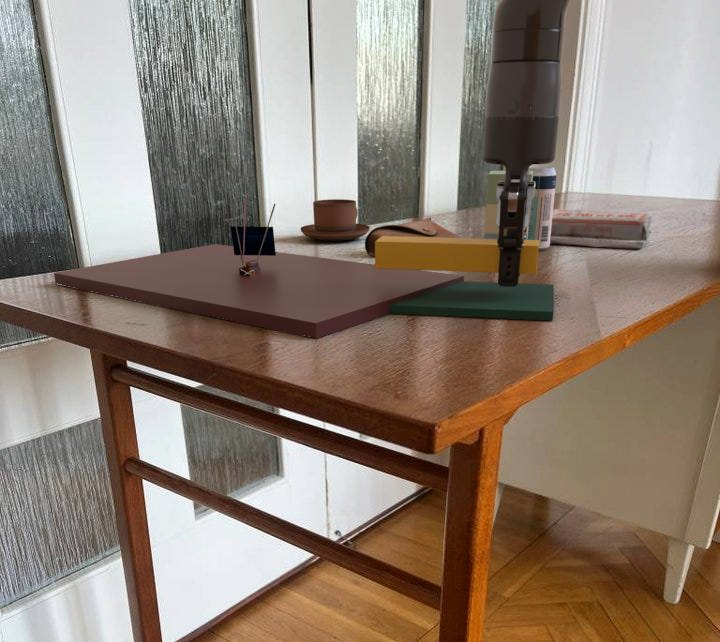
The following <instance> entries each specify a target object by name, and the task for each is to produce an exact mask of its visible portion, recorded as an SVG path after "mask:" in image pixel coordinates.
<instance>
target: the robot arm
mask: <svg viewBox="0 0 720 642" xmlns="http://www.w3.org/2000/svg"><path fill="white" fill-rule="evenodd" d="M570 1H571V0H499V1H498V3H497V5H496V8H495V11H494V15H493V16H494V17H493V23H492V35H491V53H490V63H491V64H490V66H489V67H490V68H489V75H488V80H487V85H486V93H485V94H486V95H485V96H486V97H485V98H486V99H485V113H484V130H483V146H482V147H483V148H482V159H483V162H484V163H487V164H491V165H502V166H504V168H505V171H506V172H505V181H499V183H497V191H496V198H497V200H498V208H497V220H496V224H497V227H498V228H499V239H497V244H498V248H499V251H500V258H499V272H498V273H497V283H498V284H499V285H500V286H504V287H515V286H517V284H518V283H519V279H520V276H521V274H519V268H520V256H521V252H522V248H523V247H524V240H525V232H526V229H527V228H528V226H529V222H530V215H531V203H532V201H533V199H534V194H535V183H536V181H529V180H528V175H529V167H532V166H533V165H546V164H547V165H548V164H551V163H552V162H554V160H555V158H556V153H557V143H558V141H557V140H558V132H559V122H560V121H559V120H560V111H561V101H562V89H563V81H562V80H563V79H562V78H563V77H562V75H563V74H562V65H563V64H562V61H563V52H564V42H565V33H566V19H567V18H566V17H567V13H568V12H567V11H568V7H569V6H570Z"/></svg>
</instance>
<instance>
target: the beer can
mask: <svg viewBox="0 0 720 642" xmlns="http://www.w3.org/2000/svg"><path fill="white" fill-rule="evenodd" d="M529 171H533V179H532V181H536V183H535V194H534V199H533V201H532V203H531V215H530V222H529V226H528V238H527V240H539V250H538V252H539V251H545V250H546V249H547V248H550V247H551V246H550V245H551V243H550V237H551V226H552V216H553V209H554V204H555V194H556V184H557V172H556V169H555V167H553V166H530V167H529Z"/></svg>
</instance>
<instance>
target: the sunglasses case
mask: <svg viewBox="0 0 720 642" xmlns="http://www.w3.org/2000/svg"><path fill="white" fill-rule="evenodd" d="M382 236H397V237H436V238H462V237H461V236H459V235H457V234H455V233H453V231H451V230H448V229H446V228H445V227H443V226H442V225H440V224H438V223H436V222H435V221H433V220H432V218H431V217H430V216H429V217H427V218H424V219H421V220H420V219H419V220H413V221H410V222H402V223H398V224H386V225H381V226H378V227H377V226H376V227H375V228H373V229H372V230H371V231H369V232H368V234H366V238H365V240H364V250H365V251H366V254H368V256H371V257H375V241H376V240H378V239H379V238H380V237H382Z"/></svg>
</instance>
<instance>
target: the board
mask: <svg viewBox="0 0 720 642" xmlns="http://www.w3.org/2000/svg"><path fill="white" fill-rule="evenodd" d="M243 200H244V202H243V203H244V204H243V226H240V225H239V226H238V225H237V220H236V215H235V211H234V210H235V209H234V204H233V199H230V200H229V202H230V207H231V212H232V217H233V223H234V226H233V225H232V226H231V225H230V234H231V241H232V242H231V243H232V245H227V244H226V245H225V244H219V243H218V244H217V243H214V244H208V245H201V246H197V247H191V248H185V249H180V250H175V251H174V250H173V251H169V252H162V253H158V254H157V253H156V254H151V255H145V256H140V257H134V258H130V259H123V260H118V261H112V262H107V263H101V264H96V265H91V266H90V265H89V266H84V267H78V268H74V269H68V270H61V271H57V272H53V277H54V283H55V284H56V283H58V284H62V285H66V286H70V287H75V288H79V289H83V290H87V291H86V292H88V291H93V292H98V293H102V294H107V295H113V296H118V297H122V298H127V299H131V300H136V301H141V302H145V303H144V304H146V303H149V304H148V305H151V304H154V305H153V306H156V305H159V306H158V307H160V306H163V307H162V308H165V307H168V308H167V309H170V308H173V309H172V310H175V309H177V310H176V311H180V310H182V311H181V312H185V311H186V312H185V313H191V314H194V313H195V315H199V314H202V315H201V316H204V315H207V316H206V317H209V316H213V317H212V318H214V317H219V318H224V319H227V320H226V321H228V320H230V321H229V322H233V321H235V322H234V323H238V322H240V323H239V324H243V323H245V324H244V325H248V324H250V325H249V326H252V325H254V327H257V326H259V327H258V328H262V327H264V328H263V329H267V330H271V331H276V332H281V331H282V333H287V334H291V333H292V335H296V334H299V335H298V336H301V335H305V336H304V337H306V336H310V337H314V338H313V339H315V338H317V339H320V338H322V336H323V337H326V336H329V335H332V334H334V332H335V333H338V332H340V331H343V330H346V329H349V328H351V327H355V326H358V325H361V324H365V323H366V322H370V321H372V320H376V319H378V318H382V317H384V316H387V315H391V314H390V305H391V304H394V303H397V302H400V301H403V300H406V299H409V298H412V297H415V296H418V295H421V294H424V293H427V292H430V291H434V290H437V289H440V288H443V287H446V286H449V285H452V284H455V283H458V282H461V281H465V275H459V274H452V273H444V272H438V271H431V270H404V269H375V263H374V264H373V263H366V262H358V261H350V260H343V259H336V258H327V257H319V256H312V255H311V256H310V255H304V254H296V253H288V252H281V251H276V243H275V234H274V233H275V232H274V226H270V223H271V221H272V218H273V214H274V211H275V207H276V203H273V205H272V208H271V209H272V210H271V212H270V216H269V219H268V222H267V226H246V216H247V215H246V213H247V211H246V209H247V198H244V199H243ZM83 290H82V291H83ZM93 292H92V293H93ZM98 293H97V294H98ZM102 294H101V295H102ZM107 295H106V296H107ZM122 298H121V299H122ZM127 299H126V300H127ZM131 300H130V301H131ZM136 301H135V302H136ZM141 302H140V303H141ZM219 318H218V319H219ZM331 333H332V334H331ZM328 334H329V335H328ZM325 335H326V336H325ZM310 337H309V338H310ZM319 337H320V338H319Z"/></svg>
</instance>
